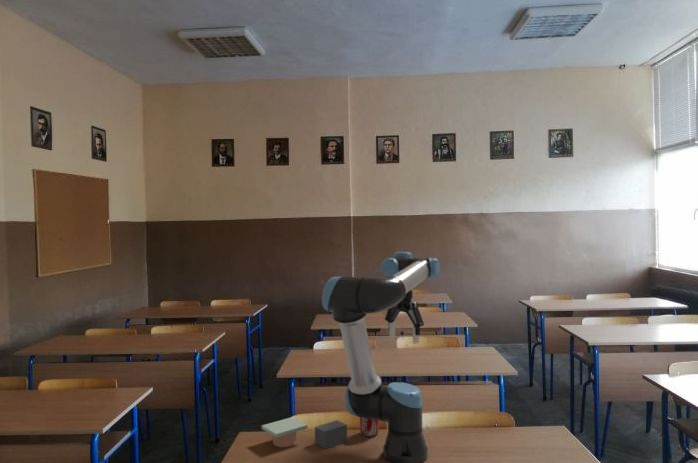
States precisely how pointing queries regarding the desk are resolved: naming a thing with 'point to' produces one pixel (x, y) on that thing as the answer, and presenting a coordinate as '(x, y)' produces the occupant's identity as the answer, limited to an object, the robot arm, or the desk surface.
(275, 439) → the pink ceramic pot
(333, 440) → the dark grey rectangular block
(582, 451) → the desk surface
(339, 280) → the robot arm
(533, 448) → the desk surface
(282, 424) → the lid
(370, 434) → the soda can
